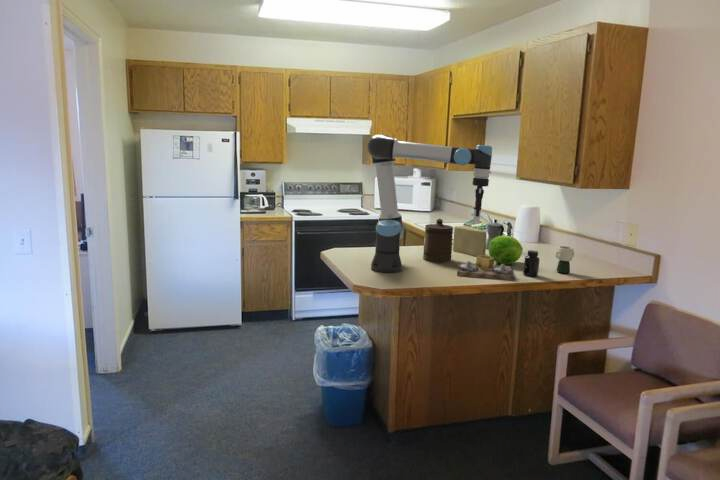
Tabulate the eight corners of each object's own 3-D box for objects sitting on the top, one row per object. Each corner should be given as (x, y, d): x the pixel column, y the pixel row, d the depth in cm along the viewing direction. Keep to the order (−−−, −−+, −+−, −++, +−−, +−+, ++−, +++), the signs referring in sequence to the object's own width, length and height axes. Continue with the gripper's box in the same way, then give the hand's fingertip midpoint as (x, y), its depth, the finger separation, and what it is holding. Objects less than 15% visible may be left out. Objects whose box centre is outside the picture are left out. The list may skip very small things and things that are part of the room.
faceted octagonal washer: (476, 268, 250) (476, 258, 249) (475, 264, 258) (476, 254, 257) (493, 269, 248) (494, 259, 247) (492, 265, 256) (493, 256, 255)
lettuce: (527, 269, 271) (535, 241, 267) (500, 268, 261) (507, 240, 257) (505, 258, 285) (512, 232, 281) (478, 258, 275) (485, 231, 271)
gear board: (457, 275, 243) (458, 263, 242) (457, 265, 263) (458, 254, 261) (513, 280, 238) (515, 267, 237) (510, 270, 258) (511, 258, 257)
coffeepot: (480, 247, 312) (482, 218, 309) (493, 246, 316) (496, 217, 312) (494, 252, 298) (497, 222, 295) (508, 252, 301) (511, 221, 298)
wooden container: (437, 255, 285) (439, 216, 281) (456, 260, 274) (459, 220, 269) (417, 258, 277) (419, 217, 272) (436, 264, 265) (439, 222, 261)
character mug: (566, 270, 262) (569, 245, 259) (576, 274, 255) (579, 248, 253) (549, 271, 258) (552, 246, 256) (558, 275, 252) (561, 249, 249)
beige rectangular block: (490, 257, 285) (493, 231, 282) (477, 259, 280) (479, 232, 277) (465, 249, 304) (466, 224, 301) (451, 250, 299) (453, 225, 296)
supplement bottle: (520, 274, 249) (522, 250, 247) (527, 272, 254) (529, 249, 252) (533, 277, 245) (536, 253, 242) (540, 275, 249) (543, 251, 247)
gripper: (490, 180, 234) (484, 225, 239) (488, 176, 258) (483, 218, 263) (473, 178, 236) (468, 224, 240) (473, 175, 260) (468, 216, 264)
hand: (476, 221), depth 251 cm, fingers open, 13 cm apart
